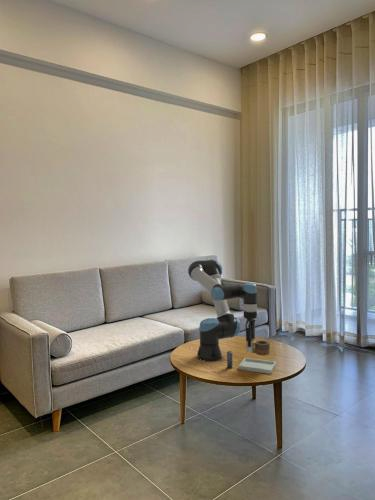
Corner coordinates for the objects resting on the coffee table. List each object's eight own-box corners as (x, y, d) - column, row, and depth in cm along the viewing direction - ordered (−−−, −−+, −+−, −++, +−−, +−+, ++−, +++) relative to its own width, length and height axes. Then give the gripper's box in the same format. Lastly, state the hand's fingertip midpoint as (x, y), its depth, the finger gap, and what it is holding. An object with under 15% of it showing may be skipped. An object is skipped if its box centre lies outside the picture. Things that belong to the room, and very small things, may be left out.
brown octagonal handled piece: (270, 351, 218) (270, 341, 218) (267, 355, 211) (267, 345, 211) (248, 349, 223) (248, 339, 223) (245, 353, 216) (245, 342, 216)
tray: (238, 369, 215) (238, 365, 215) (245, 360, 229) (245, 357, 228) (271, 373, 208) (271, 370, 208) (276, 364, 221) (276, 361, 221)
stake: (226, 368, 218) (226, 352, 217) (228, 366, 220) (227, 351, 220) (231, 368, 216) (231, 353, 216) (233, 367, 219) (232, 351, 218)
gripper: (247, 307, 227) (247, 346, 228) (239, 313, 212) (240, 354, 213) (259, 308, 224) (260, 347, 225) (253, 314, 209) (253, 356, 210)
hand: (250, 351), depth 219 cm, fingers closed on brown octagonal handled piece, 3 cm apart
